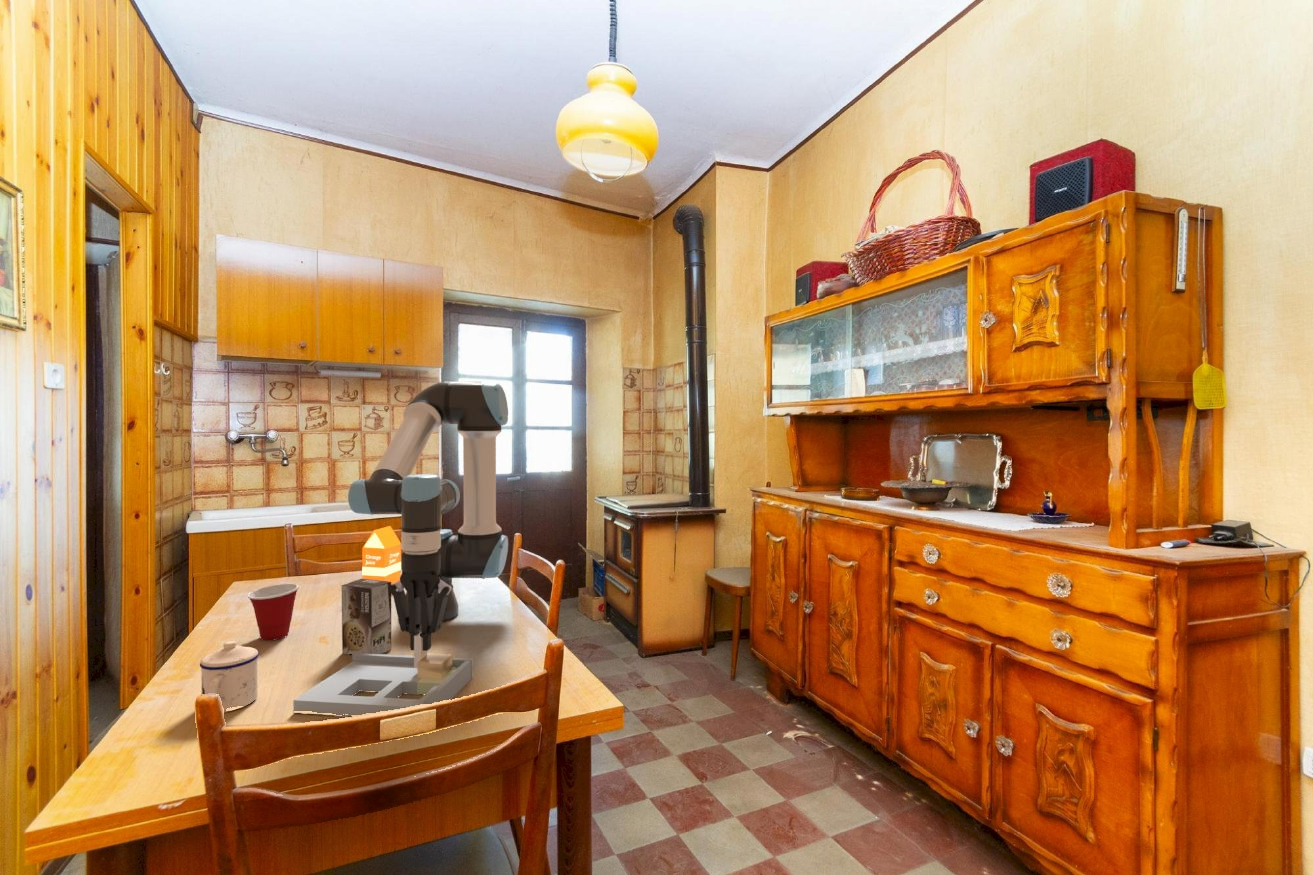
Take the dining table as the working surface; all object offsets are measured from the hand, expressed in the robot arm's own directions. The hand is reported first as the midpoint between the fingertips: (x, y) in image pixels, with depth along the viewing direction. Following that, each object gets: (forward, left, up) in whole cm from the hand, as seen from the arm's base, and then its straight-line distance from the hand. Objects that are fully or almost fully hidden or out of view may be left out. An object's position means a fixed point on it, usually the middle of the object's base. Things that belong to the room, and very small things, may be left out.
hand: (420, 665), depth 123 cm
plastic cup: (-21, -49, -4) cm, 53 cm away
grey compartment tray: (+6, -4, -4) cm, 8 cm away
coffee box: (-15, -21, -4) cm, 26 cm away
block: (0, +3, -1) cm, 3 cm away
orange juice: (-63, -45, -4) cm, 77 cm away
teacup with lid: (+14, -31, -4) cm, 34 cm away
